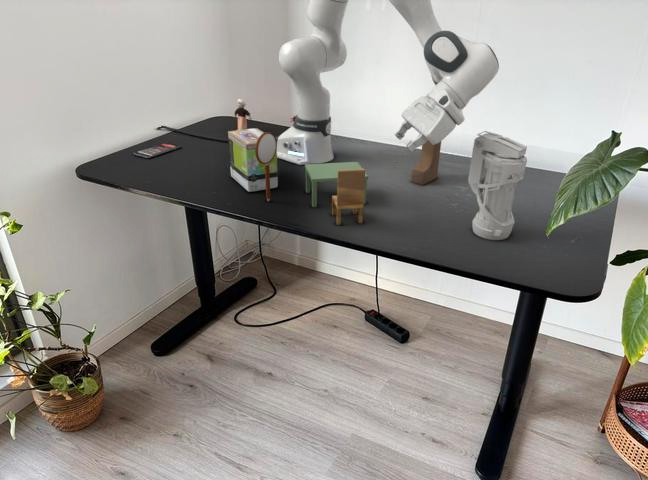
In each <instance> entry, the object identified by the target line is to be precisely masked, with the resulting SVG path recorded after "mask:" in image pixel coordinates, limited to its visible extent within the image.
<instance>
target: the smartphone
mask: <svg viewBox="0 0 648 480" xmlns="http://www.w3.org/2000/svg"><path fill="white" fill-rule="evenodd" d="M179 148H181V145H180V144H177V143H172V142H168V141H164V142H161V143H158V144H155V145H152V146H149V147H146V148H142V149H140V150H136V151H134V152H133V155H134V156H136V157H137V156H138V157H141V158H145V159H151V158H154V157H158V156H161V155H163V154H166V153H169V152H172V151H175V150H177V149H179Z"/></svg>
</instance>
